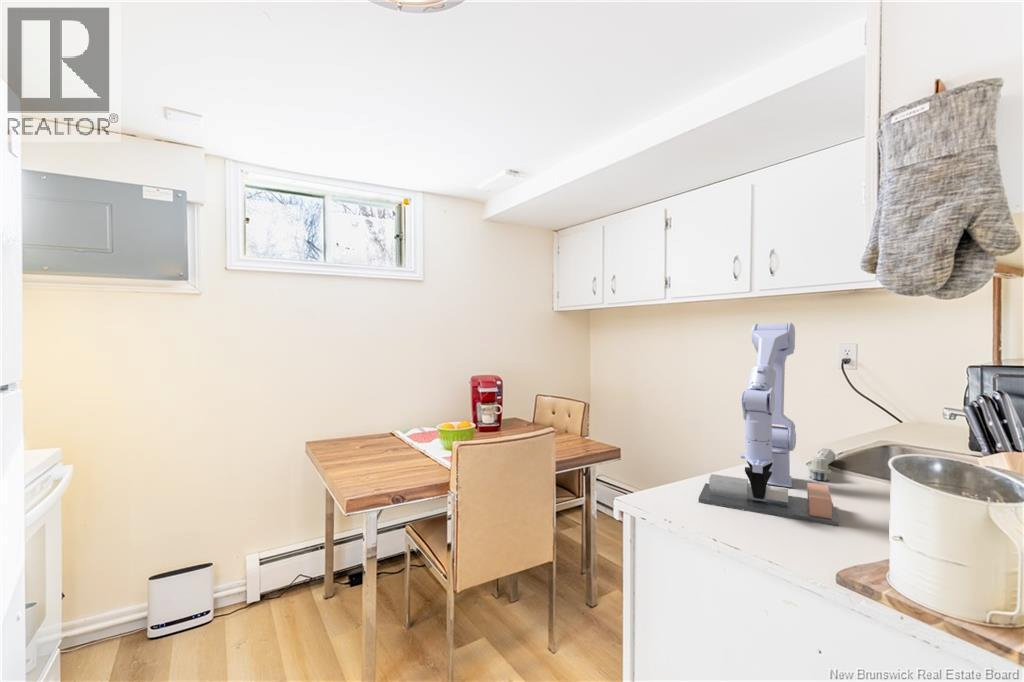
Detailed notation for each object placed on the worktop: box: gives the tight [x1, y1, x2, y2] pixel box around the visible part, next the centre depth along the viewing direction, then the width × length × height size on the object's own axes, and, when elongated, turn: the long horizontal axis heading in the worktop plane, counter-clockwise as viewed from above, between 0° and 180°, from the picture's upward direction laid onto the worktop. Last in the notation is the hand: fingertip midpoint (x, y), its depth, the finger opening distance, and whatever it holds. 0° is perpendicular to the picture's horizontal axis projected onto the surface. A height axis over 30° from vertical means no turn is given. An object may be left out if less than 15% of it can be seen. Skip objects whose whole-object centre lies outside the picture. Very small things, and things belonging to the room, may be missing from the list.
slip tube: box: [747, 482, 789, 502], centre depth 108 cm, size 4×16×4 cm, turn 58°
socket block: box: [806, 482, 833, 519], centre depth 101 cm, size 10×4×4 cm, turn 148°
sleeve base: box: [698, 473, 839, 527], centre depth 107 cm, size 12×28×5 cm, turn 58°
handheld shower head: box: [807, 448, 836, 481], centre depth 130 cm, size 5×7×25 cm
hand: (759, 493), depth 107 cm, fingers open, 6 cm apart
